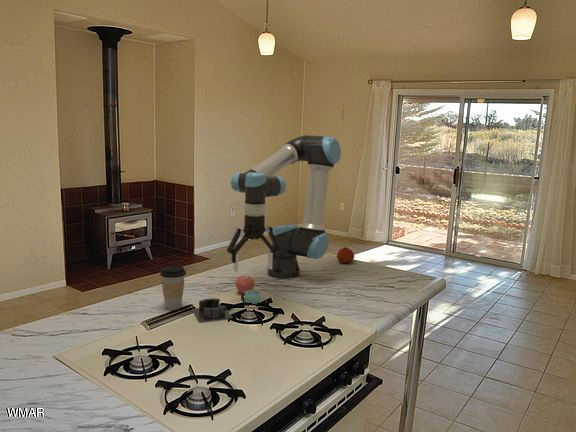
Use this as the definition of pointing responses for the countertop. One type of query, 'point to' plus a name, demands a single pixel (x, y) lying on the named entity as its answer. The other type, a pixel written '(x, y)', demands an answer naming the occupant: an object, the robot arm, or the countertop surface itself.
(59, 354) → the countertop surface
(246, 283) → the apple
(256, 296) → the cap
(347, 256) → the fruit
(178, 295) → the coffee cup
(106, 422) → the countertop surface
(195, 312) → the dark grey raised block
